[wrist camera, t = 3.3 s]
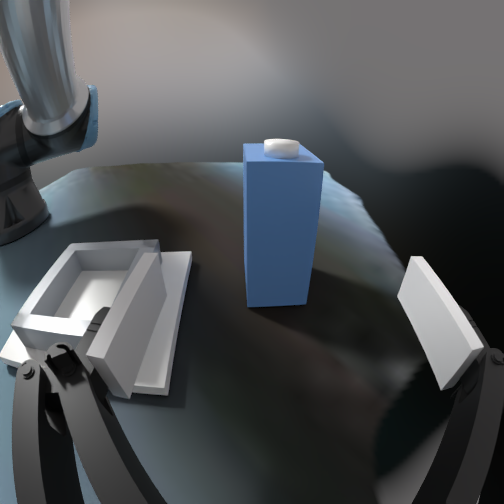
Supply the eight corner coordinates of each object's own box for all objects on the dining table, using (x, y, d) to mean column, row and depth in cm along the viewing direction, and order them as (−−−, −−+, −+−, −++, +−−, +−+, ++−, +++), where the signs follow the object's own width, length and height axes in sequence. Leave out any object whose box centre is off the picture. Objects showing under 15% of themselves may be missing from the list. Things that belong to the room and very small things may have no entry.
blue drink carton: (244, 260, 29) (243, 132, 22) (291, 259, 29) (300, 133, 22) (247, 307, 23) (246, 146, 16) (306, 304, 23) (325, 148, 16)
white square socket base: (68, 262, 28) (59, 236, 26) (192, 259, 29) (188, 229, 27) (4, 363, 15) (-17, 335, 13) (168, 395, 15) (153, 365, 14)
